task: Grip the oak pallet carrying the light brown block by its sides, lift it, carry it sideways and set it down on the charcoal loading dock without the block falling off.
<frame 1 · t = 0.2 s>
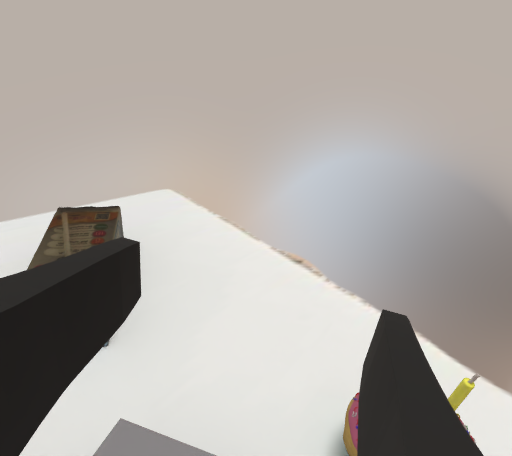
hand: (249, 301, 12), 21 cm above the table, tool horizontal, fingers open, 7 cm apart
beverage carton: (83, 292, 45), on the table
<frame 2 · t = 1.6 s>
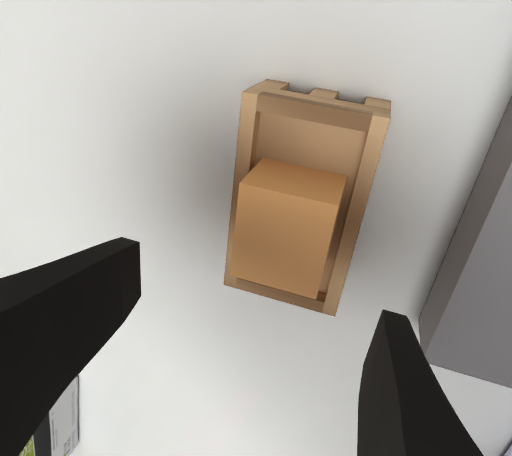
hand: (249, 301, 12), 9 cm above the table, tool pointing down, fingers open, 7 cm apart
tea box: (9, 373, 36), on the table
pallet: (309, 183, 20), on the table
light brown block: (296, 210, 17), point 3 cm above the table
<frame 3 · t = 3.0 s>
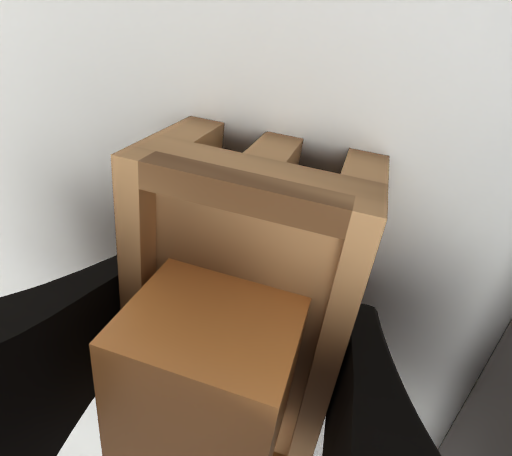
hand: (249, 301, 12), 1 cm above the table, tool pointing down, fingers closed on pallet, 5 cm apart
pallet: (263, 273, 13), on the table, touching light brown block, gripper
light brown block: (230, 340, 10), point 3 cm above the table, touching pallet
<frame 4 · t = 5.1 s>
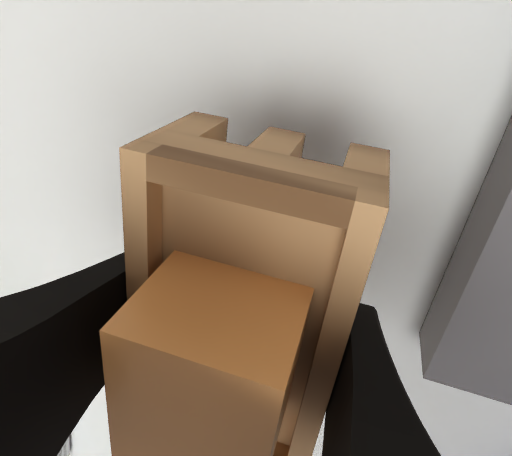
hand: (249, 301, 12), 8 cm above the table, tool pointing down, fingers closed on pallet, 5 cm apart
pallet: (265, 267, 13), point 7 cm above the table, touching light brown block, gripper
light brown block: (234, 331, 11), point 10 cm above the table, touching pallet
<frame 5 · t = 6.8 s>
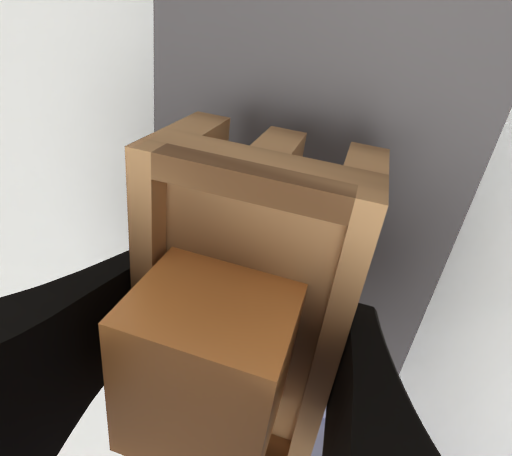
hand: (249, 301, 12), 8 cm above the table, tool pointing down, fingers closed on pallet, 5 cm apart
pallet: (267, 264, 13), point 6 cm above the table, touching light brown block, gripper
dock: (304, 193, 19), on the table
light brown block: (230, 326, 11), point 9 cm above the table, touching pallet
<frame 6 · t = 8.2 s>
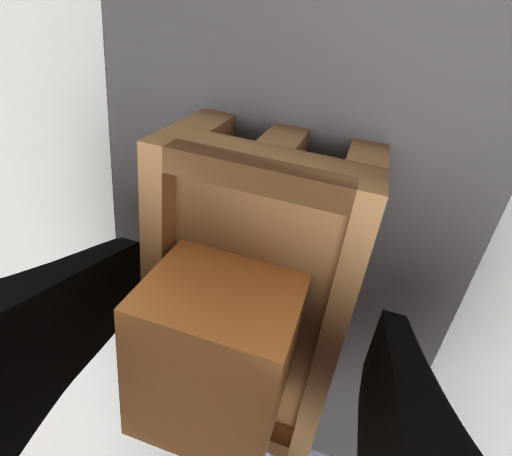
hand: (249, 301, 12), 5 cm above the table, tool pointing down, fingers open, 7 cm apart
pallet: (271, 257, 14), point 3 cm above the table, touching light brown block, dock
dock: (290, 220, 16), on the table
light brown block: (236, 316, 11), point 6 cm above the table, touching pallet
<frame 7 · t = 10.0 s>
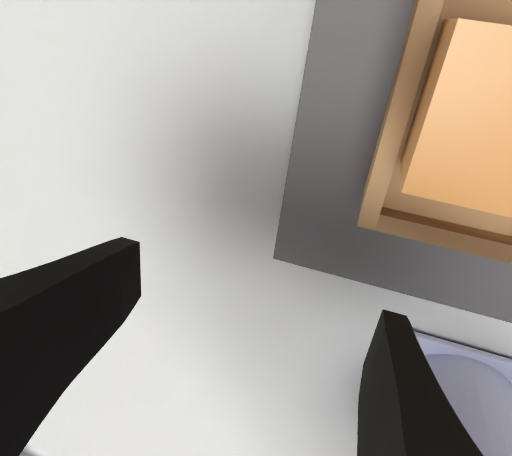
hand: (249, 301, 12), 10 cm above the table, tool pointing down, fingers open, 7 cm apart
pallet: (474, 86, 14), point 3 cm above the table, touching light brown block, dock
dock: (462, 77, 17), on the table
light brown block: (483, 105, 12), point 6 cm above the table, touching pallet
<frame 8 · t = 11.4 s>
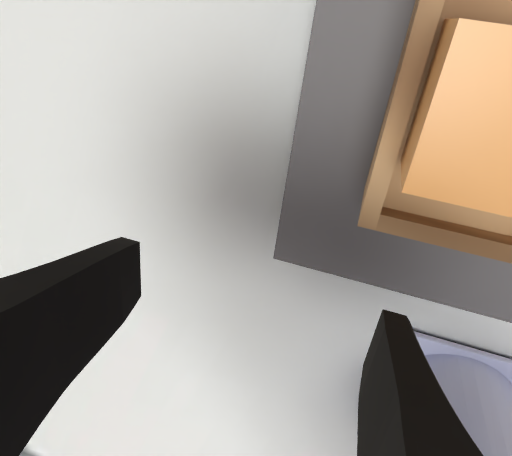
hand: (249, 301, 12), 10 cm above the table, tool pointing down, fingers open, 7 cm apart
pallet: (475, 86, 14), point 3 cm above the table, touching light brown block, dock
dock: (462, 77, 17), on the table
light brown block: (483, 105, 12), point 6 cm above the table, touching pallet
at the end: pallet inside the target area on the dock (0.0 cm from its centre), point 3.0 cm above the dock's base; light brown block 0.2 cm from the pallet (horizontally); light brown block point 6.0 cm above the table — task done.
